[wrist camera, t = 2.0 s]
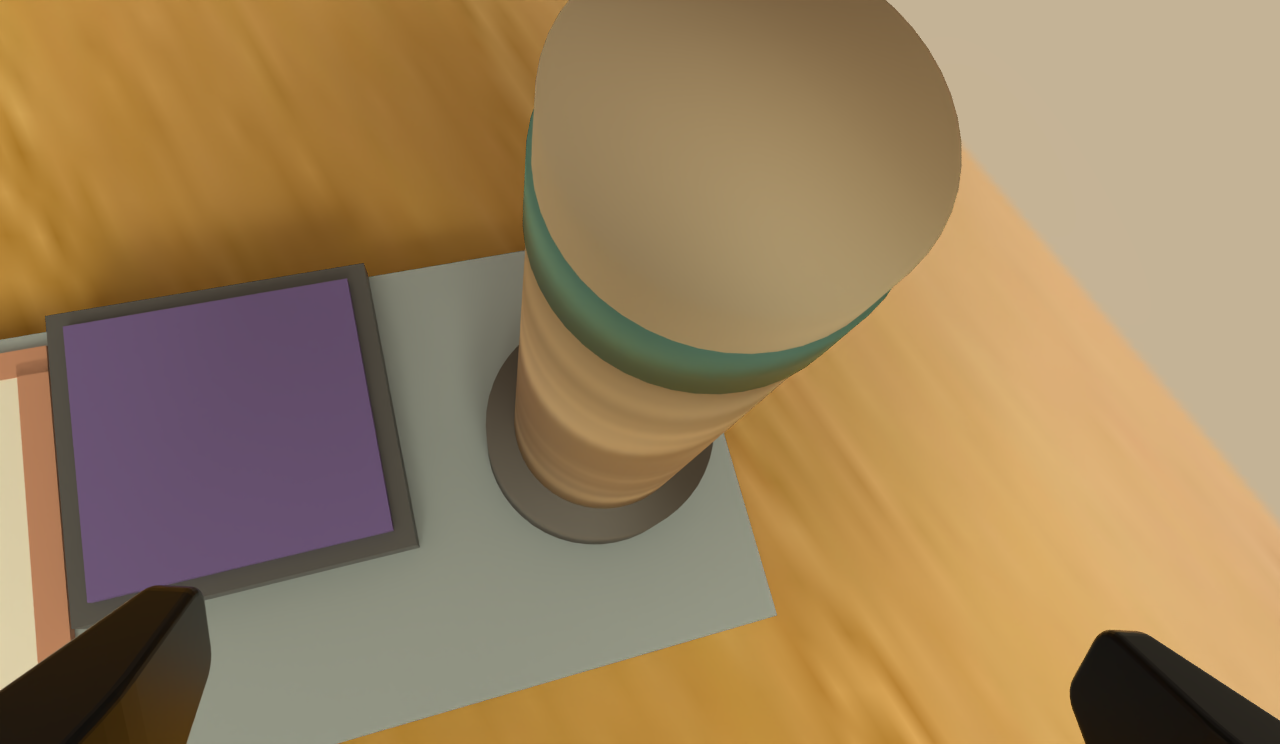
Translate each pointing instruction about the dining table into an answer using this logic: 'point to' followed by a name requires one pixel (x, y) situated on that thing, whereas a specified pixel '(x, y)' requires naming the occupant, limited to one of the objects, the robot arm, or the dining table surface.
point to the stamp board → (327, 504)
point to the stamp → (702, 234)
